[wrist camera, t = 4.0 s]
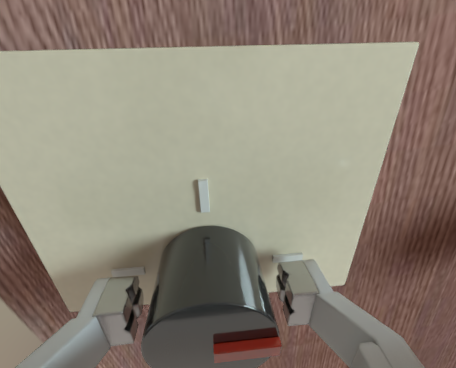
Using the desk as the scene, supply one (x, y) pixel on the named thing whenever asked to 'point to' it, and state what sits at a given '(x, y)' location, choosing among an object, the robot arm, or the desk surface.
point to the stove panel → (195, 152)
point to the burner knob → (210, 304)
